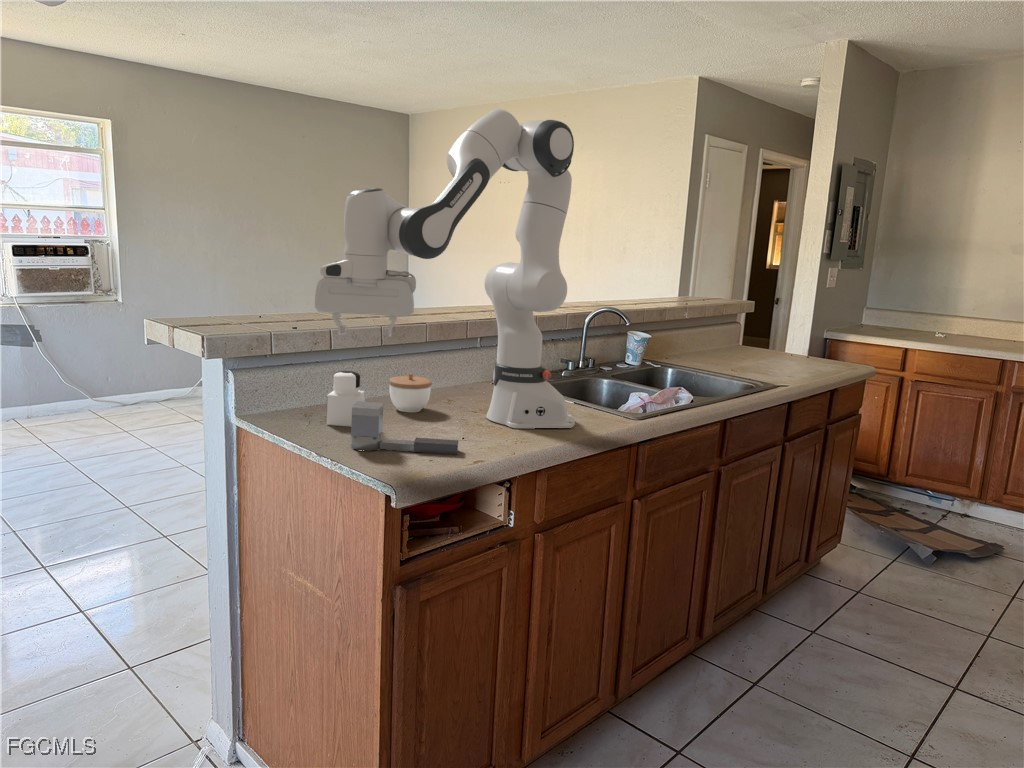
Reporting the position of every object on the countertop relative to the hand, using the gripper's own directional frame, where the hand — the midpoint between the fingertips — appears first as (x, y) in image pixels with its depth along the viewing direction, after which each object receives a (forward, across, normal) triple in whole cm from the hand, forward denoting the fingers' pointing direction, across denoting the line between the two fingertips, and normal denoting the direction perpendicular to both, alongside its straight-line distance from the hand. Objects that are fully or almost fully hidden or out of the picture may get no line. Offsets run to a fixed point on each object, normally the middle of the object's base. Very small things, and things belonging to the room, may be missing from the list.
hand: (364, 335), depth 145 cm
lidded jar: (+23, -7, -27) cm, 37 cm away
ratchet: (+23, -9, +7) cm, 25 cm away
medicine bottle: (+23, +6, -12) cm, 26 cm away
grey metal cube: (+19, -2, +6) cm, 20 cm away
